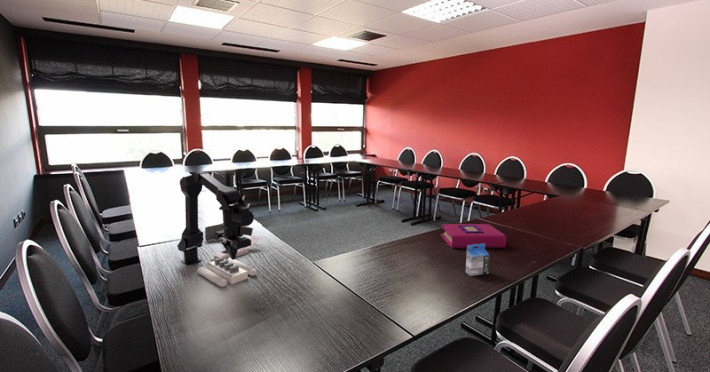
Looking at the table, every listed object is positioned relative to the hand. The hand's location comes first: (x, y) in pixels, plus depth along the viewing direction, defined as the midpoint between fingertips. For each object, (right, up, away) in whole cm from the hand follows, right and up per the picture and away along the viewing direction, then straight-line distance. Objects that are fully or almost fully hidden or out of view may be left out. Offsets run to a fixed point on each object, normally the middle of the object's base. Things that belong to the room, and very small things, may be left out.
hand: (233, 259), depth 134 cm
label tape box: (+100, -8, +8) cm, 101 cm away
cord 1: (-9, -8, 0) cm, 12 cm away
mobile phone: (-8, -4, +27) cm, 28 cm away
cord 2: (0, -7, +10) cm, 12 cm away
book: (+111, -1, +47) cm, 121 cm away
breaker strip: (-5, -7, +5) cm, 10 cm away
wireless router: (-24, +2, +56) cm, 61 cm away
